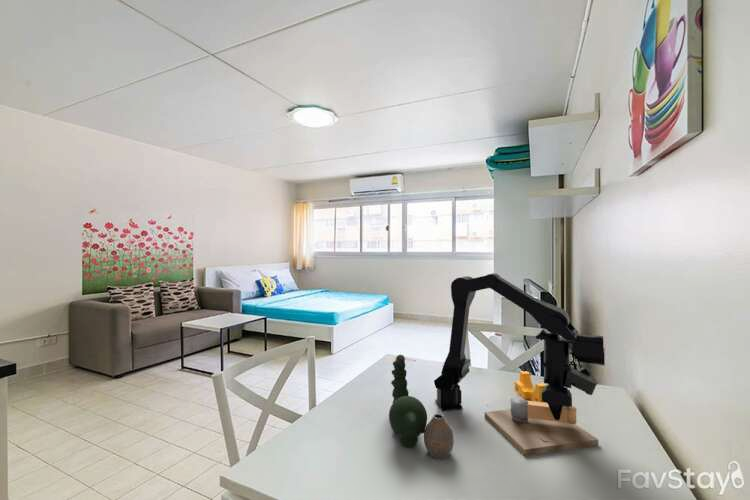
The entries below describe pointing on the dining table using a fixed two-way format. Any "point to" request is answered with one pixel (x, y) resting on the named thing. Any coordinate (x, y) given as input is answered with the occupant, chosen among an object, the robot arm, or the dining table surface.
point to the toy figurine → (405, 408)
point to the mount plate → (539, 433)
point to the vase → (438, 437)
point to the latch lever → (540, 411)
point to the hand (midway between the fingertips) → (557, 419)
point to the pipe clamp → (529, 388)
